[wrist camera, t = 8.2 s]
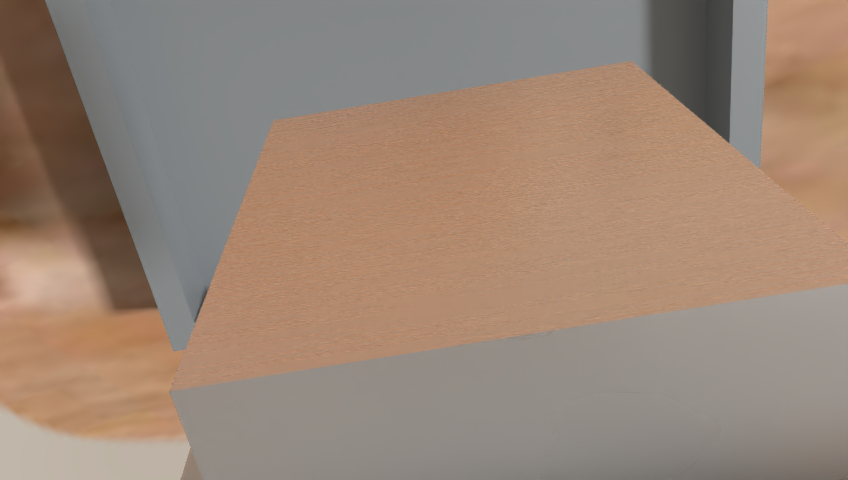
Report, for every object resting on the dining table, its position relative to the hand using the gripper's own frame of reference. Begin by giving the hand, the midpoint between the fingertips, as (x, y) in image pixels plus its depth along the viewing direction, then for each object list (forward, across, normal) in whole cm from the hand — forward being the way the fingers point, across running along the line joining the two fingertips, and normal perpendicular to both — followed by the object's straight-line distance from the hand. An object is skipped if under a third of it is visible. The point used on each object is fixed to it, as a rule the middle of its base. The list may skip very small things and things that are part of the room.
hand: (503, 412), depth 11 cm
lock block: (+2, 0, 0) cm, 2 cm away
